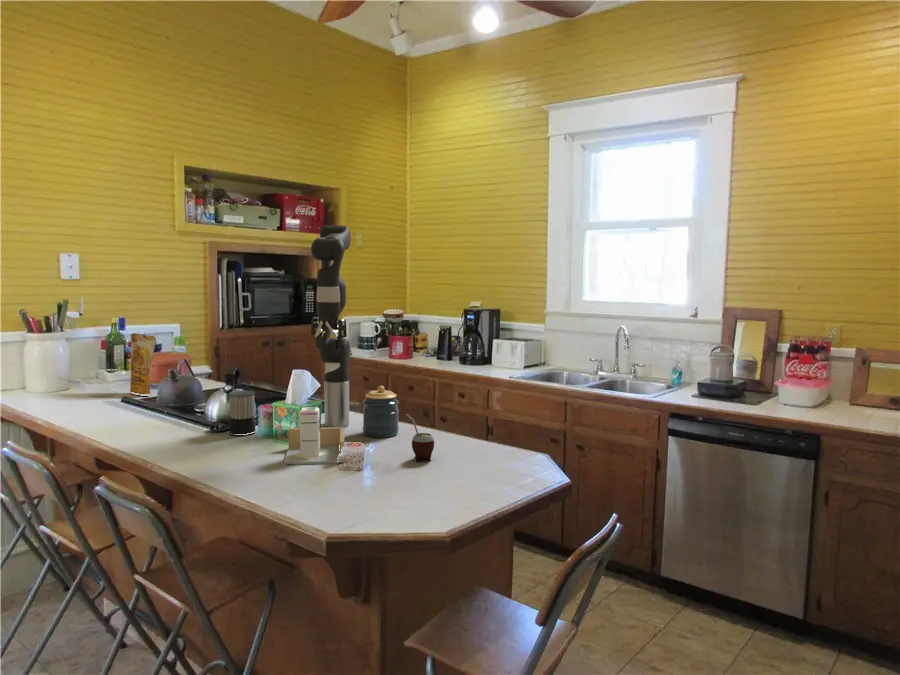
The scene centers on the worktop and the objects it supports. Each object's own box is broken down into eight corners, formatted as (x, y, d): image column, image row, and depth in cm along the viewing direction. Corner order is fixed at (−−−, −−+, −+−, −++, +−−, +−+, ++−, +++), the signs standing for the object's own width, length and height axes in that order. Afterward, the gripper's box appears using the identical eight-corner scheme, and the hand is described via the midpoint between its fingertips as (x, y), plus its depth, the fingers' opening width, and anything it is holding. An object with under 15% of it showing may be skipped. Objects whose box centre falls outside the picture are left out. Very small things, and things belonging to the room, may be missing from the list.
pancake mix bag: (139, 391, 306) (137, 332, 303) (159, 396, 294) (157, 335, 291) (125, 392, 301) (123, 333, 298) (144, 398, 289) (142, 336, 286)
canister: (381, 440, 224) (381, 390, 223) (355, 434, 232) (355, 386, 230) (406, 433, 235) (406, 385, 233) (380, 427, 242) (380, 381, 241)
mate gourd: (438, 459, 203) (439, 412, 201) (423, 465, 196) (424, 417, 195) (419, 455, 207) (420, 409, 206) (404, 460, 201) (404, 413, 199)
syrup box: (319, 456, 200) (318, 410, 199) (299, 456, 200) (299, 410, 198) (320, 451, 206) (320, 406, 205) (301, 451, 205) (301, 406, 204)
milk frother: (257, 435, 228) (256, 394, 227) (209, 438, 223) (208, 396, 221) (254, 426, 241) (253, 387, 240) (209, 429, 236) (208, 389, 234)
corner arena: (289, 448, 212) (288, 428, 211) (344, 447, 215) (344, 427, 214) (283, 464, 194) (283, 442, 194) (343, 463, 197) (343, 441, 196)
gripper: (352, 301, 208) (352, 350, 210) (321, 299, 217) (322, 346, 219) (335, 301, 202) (335, 352, 204) (304, 299, 211) (305, 348, 213)
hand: (328, 349), depth 211 cm, fingers open, 8 cm apart
